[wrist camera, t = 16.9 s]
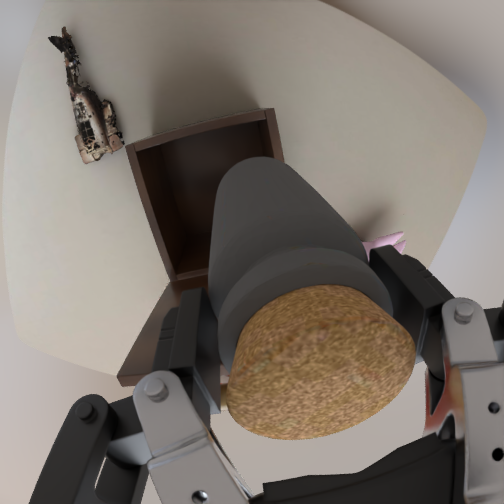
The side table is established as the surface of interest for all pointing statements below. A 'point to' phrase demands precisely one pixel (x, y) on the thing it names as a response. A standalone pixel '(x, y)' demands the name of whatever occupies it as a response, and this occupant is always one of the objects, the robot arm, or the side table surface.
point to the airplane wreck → (88, 109)
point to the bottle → (298, 309)
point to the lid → (146, 342)
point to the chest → (195, 180)
